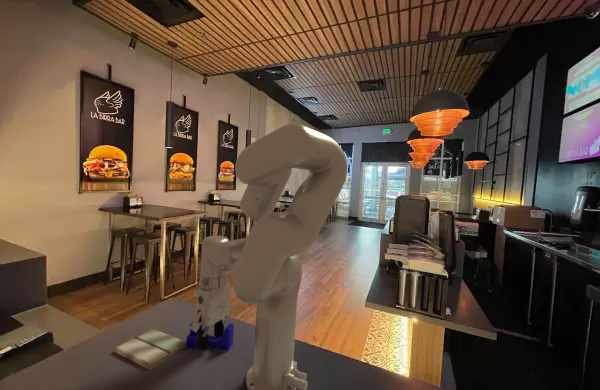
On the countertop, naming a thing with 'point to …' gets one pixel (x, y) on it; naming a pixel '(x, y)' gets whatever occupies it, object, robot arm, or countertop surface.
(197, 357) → the countertop surface
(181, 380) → the countertop surface
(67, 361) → the countertop surface
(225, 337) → the cable clip
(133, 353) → the board
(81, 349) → the countertop surface
